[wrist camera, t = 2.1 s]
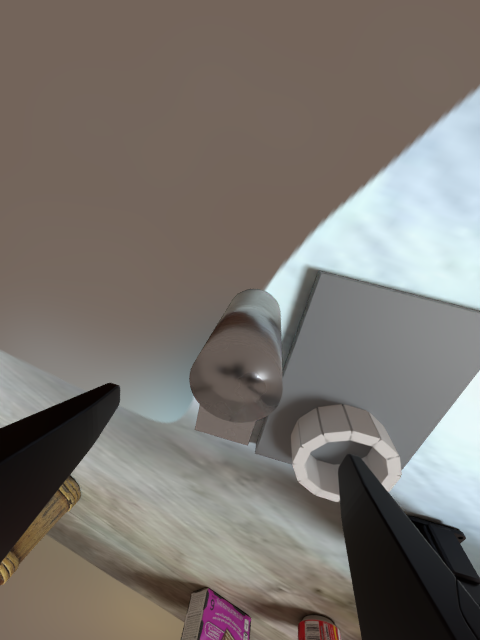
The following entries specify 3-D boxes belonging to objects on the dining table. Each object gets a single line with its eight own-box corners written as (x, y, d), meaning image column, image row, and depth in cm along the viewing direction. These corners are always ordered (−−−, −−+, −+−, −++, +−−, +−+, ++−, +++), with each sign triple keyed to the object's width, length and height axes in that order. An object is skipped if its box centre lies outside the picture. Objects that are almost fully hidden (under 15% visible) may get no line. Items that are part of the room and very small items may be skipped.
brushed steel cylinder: (234, 282, 20) (196, 333, 11) (287, 296, 20) (295, 360, 10) (215, 367, 23) (175, 459, 14) (260, 379, 23) (249, 482, 14)
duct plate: (380, 480, 26) (398, 526, 22) (256, 443, 26) (252, 481, 22) (501, 316, 18) (563, 342, 14) (319, 270, 18) (329, 282, 14)
